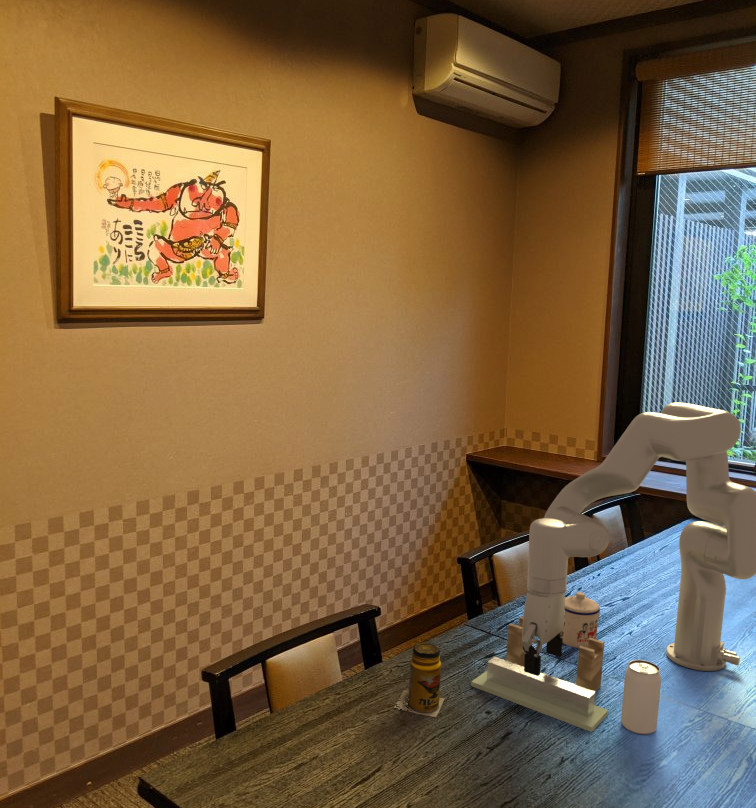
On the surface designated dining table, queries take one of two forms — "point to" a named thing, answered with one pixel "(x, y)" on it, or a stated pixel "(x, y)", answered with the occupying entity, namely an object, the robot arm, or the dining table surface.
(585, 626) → the teacup with lid
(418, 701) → the condiment
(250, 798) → the dining table surface
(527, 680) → the rail
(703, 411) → the robot arm
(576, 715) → the mat
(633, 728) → the can
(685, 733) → the dining table surface
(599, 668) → the post
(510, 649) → the post
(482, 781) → the dining table surface
